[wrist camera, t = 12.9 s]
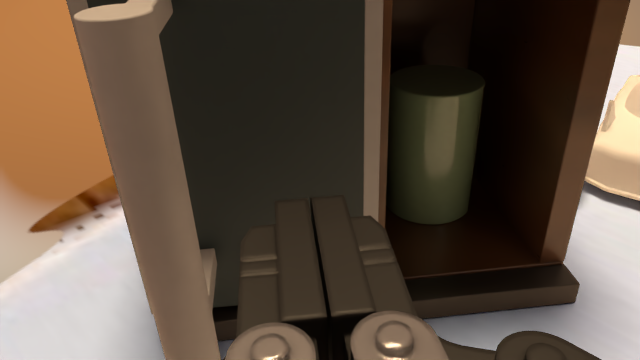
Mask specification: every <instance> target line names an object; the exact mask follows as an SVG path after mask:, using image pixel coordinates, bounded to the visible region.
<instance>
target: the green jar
mask: <svg viewBox="0 0 640 360" xmlns="http://www.w3.org/2000/svg"><path fill="white" fill-rule="evenodd" d="M485 85H486V82H485V79H484V78H483V77H482V76H481V75H480V74H478V73H476V72H474V71H471V70H468V69H465V68H461V67H456V66H449V65H418V66H411V67H407V68H403V69H400V70H397V71H395V72H394V73H392V74H391V75H390V93H389V124H388V155H387V186H386V205H387V207H388V209H389V210H390V211H391V212H392V213H394V214H395V215H396V216H398V217H400V218H402V219H404V220H407V221H410V222H414V223H419V224H428V225H436V224H445V223H450V222H453V221H455V220H458V219H460V218H461V217H463V216H464V215H465V214H466V213H467V211H468V210H469V207H470V201H471V194H472V186H473V178H474V170H475V163H476V155H477V147H478V139H479V132H480V124H481V116H482V108H483V101H484V93H485Z"/></svg>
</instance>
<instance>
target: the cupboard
mask: <svg viewBox="0 0 640 360" xmlns="http://www.w3.org/2000/svg"><path fill="white" fill-rule="evenodd" d="M629 3H630V0H383V41H382V83H381V125H380V167H379V208H378V223H379V224H381V225H382V226H383V227H384V228H385V229H386V232H387V235H388V237H389V240H390V243H391V248H393V251H394V254H395V256H396V261H397V262H398V264H399V267H400V270H401V272H402V275H403V278H404V280H405V283H406V286H407V289H408V291H409V294H410V297H411V299H412V302H413V305H414V307H415V310H416V313H417V315H418V317H419V318H421V319H423V318H433V317H442V316H451V315H461V314H470V313H479V312H488V311H498V310H507V309H516V308H525V307H535V306H544V305H553V304H562V303H572V302H575V300H576V296H577V293H578V289H579V285H580V284H579V282H578V281H577V280H576V278H575V277H574V276H573V275H572V274H571V272H570V271H569V270H568V269H567V267H566V266H565V265H564V264H563V261H564V259H565V255H566V251H567V247H568V243H569V239H570V235H571V232H572V228H573V224H574V220H575V216H576V212H577V208H578V204H579V200H580V196H581V192H582V188H583V184H584V180H585V176H586V173H587V169H588V165H589V161H590V157H591V153H592V149H593V145H594V141H595V137H596V133H597V129H598V125H599V121H600V117H601V114H602V110H603V106H604V102H605V98H606V94H607V90H608V86H609V82H610V78H611V74H612V70H613V66H614V62H615V58H616V55H617V51H618V47H619V43H620V39H621V35H622V31H623V27H624V23H625V19H626V15H627V11H628V7H629ZM418 65H449V66H456V67H461V68H465V69H468V70H471V71H474V72H476V73H478V74H480V75H481V76H482V77H483V78H484V79H485V82H486V85H485V93H484V101H483V108H482V116H481V124H480V132H479V139H478V147H477V155H476V163H475V170H474V178H473V186H472V194H471V201H470V207H469V210H468V211H467V213H466V214H465V215H464V216H463V217H461V218H460V219H458V220H455V221H453V222H450V223H445V224H436V225H428V224H419V223H414V222H410V221H407V220H404V219H402V218H400V217H398V216H396V215H395V214H394V213H392V212H391V211H390V210H389V209H388V207H387V205H386V186H387V155H388V124H389V93H390V75H391V74H392V73H394V72H395V71H397V70H400V69H403V68H407V67H411V66H418ZM237 314H238V305H236V306H226V307H216V308H213V309H212V315H213V321H214V326H215V331H216V336H217V341H220V340H229V339H236V333H237Z"/></svg>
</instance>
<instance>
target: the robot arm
mask: <svg viewBox="0 0 640 360" xmlns="http://www.w3.org/2000/svg"><path fill="white" fill-rule="evenodd" d="M274 203H275V222H276V224H270V225H259V226H251V227H250V229H249V230H248V232H247V233H246V235H245V236H244V238H243V239H242V241H241V247H240V269H239V276H240V277H239V291H238V314H237V333H236V339H235V340H234V341H233V342H232V344H231V345H230V347H229V349H228V351H227V354H226V357H225V358H224V359H223V360H601V359H599V358H597V357H596V356H594V355H592V354H590V353H588V352H586V351H584V350H582V349H581V348H579V347H577V346H575V345H573V344H571V343H569V342H568V341H566V340H564V339H562V338H559V337H557V336H554V335H551V334H548V333H544V332H538V331H522V332H517V333H514V334H511V335H509V336H507V337H506V338H504V339H503V340H502V341H501V342H500V344H499V345H498V347H497V350H496V351H493V350H486V349H480V348H474V347H467V346H462V345H458V344H454V343H451V342H449V341H446V340H444V339H442V338H440V337H438V336H437V335H436V333H435V331H434V330H433V329H432V327H431V326H430V325H429V324H428V323H426V322H425V321H424V320H422V319H421V318H419V317H418V315H417V313H416V310H415V307H414V305H413V302H412V299H411V297H410V294H409V291H408V289H407V286H406V283H405V280H404V278H403V275H402V272H401V270H400V267H399V264H398V262H397V261H396V256H395V254H394V251H393V248H391V243H390V240H389V237H388V235H387V232H386V229H385V228H384V227H383V226H382V225H381V224H379V223H378V222H377V221H376V220H375V219H374V218H373V217H372V216H370V215H369V216H358V217H350V214H349V210H348V207H347V203H346V200H345V196H344V195H334V196H323V197H311V198H310V208H309V202H308V198H301V199H290V200H278V201H274ZM310 209H311V214H310Z"/></svg>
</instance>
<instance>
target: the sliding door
mask: <svg viewBox="0 0 640 360" xmlns="http://www.w3.org/2000/svg"><path fill="white" fill-rule="evenodd" d="M66 1H67V5H68V9H69V12H70V15H71V20H72V23H73V27H74V31H75V34H76V38H77V42H78V45H79V49H80V53H81V56H82V60H83V63H84V67H85V71H86V75H87V78H88V82H89V86H90V89H91V93H92V97H93V100H94V104H95V108H96V111H97V115H98V118H99V122H100V126H101V130H102V134H103V137H104V141H105V145H106V148H107V152H108V155H109V159H110V163H111V166H112V170H113V174H114V178H115V181H116V185H117V189H118V192H119V196H120V200H121V203H122V207H123V211H124V214H125V218H126V222H127V225H128V229H129V233H130V236H131V240H132V244H133V247H134V251H135V255H136V258H137V262H138V266H139V270H140V273H141V277H142V281H143V284H144V288H145V292H146V295H147V299H148V303H149V306H150V310H151V313H152V314H154V318H155V322H156V326H157V329H158V333H159V337H160V340H161V344H162V348H163V352H164V355H165V359H166V360H221V357H220V352H219V347H218V341H217V336H216V331H215V326H214V321H213V315H212V309H213V308H216V307H226V306H236V305H238V291H239V277H240V276H239V269H240V247H241V241H242V239H243V238H244V236H245V235H246V233H247V232H248V230H249V229H250V227H251V226H259V225H270V224H276V222H275V203H274V201H278V200H290V199H301V198H308V202H309V208H310V198H311V197H323V196H334V195H344V196H345V200H346V203H347V207H348V210H349V214H350V217H358V216H369V215H370V216H372V217H373V218H374V219H375V220H376V221H377V222H378V208H379V167H380V125H381V83H382V41H383V0H66ZM310 214H311V209H310Z"/></svg>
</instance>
